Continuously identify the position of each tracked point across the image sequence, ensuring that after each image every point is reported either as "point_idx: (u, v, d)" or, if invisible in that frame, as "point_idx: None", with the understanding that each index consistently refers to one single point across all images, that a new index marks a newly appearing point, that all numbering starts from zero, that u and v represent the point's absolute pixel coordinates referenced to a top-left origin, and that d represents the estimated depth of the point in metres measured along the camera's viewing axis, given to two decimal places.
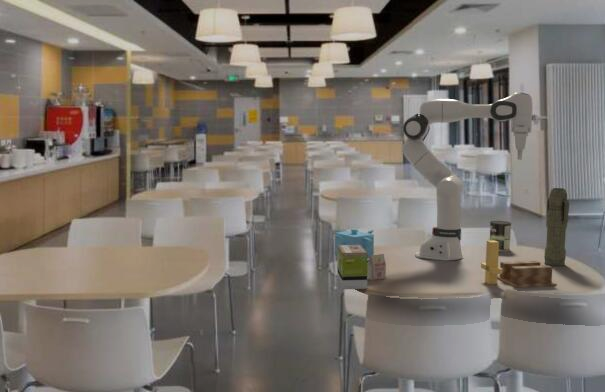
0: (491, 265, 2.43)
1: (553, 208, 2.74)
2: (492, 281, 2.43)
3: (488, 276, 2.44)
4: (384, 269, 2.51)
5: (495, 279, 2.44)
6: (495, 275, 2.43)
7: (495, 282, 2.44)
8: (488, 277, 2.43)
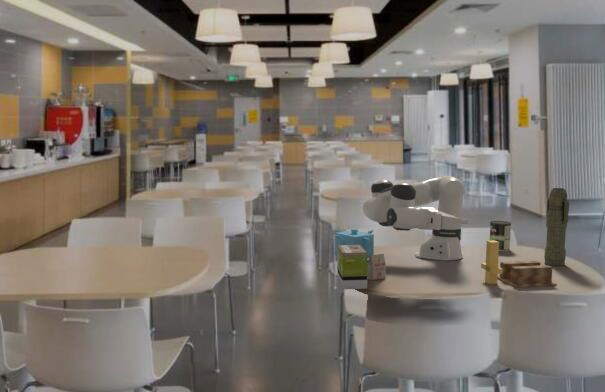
0: (491, 265, 2.43)
1: (553, 208, 2.74)
2: (492, 281, 2.43)
3: (488, 276, 2.44)
4: (384, 269, 2.51)
5: (495, 279, 2.44)
6: (495, 275, 2.43)
7: (495, 282, 2.44)
8: (488, 277, 2.43)
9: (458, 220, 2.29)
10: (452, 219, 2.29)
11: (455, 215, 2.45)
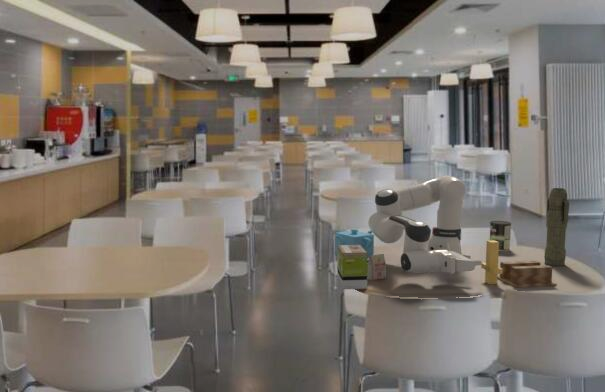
0: (491, 265, 2.43)
1: (553, 208, 2.74)
2: (492, 281, 2.43)
3: (488, 276, 2.44)
4: (384, 269, 2.51)
5: (495, 279, 2.44)
6: (495, 275, 2.43)
7: (495, 282, 2.44)
8: (488, 277, 2.43)
9: (472, 263, 2.31)
10: (466, 262, 2.31)
11: None
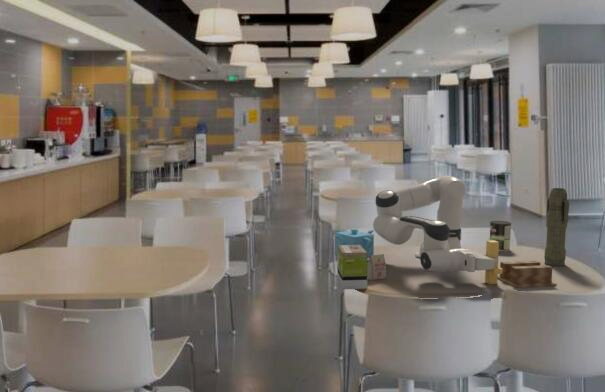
0: None
1: (553, 208, 2.74)
2: (492, 281, 2.43)
3: (488, 275, 2.44)
4: (384, 269, 2.51)
5: (495, 279, 2.44)
6: (495, 275, 2.43)
7: (495, 282, 2.44)
8: (488, 277, 2.43)
9: (492, 261, 2.33)
10: (486, 261, 2.33)
11: None
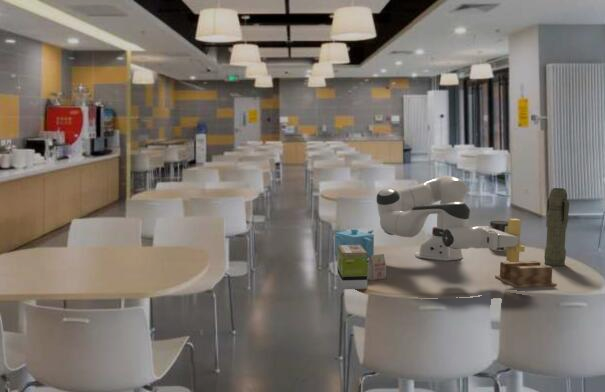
0: None
1: (553, 208, 2.74)
2: (514, 259, 2.43)
3: (510, 254, 2.43)
4: (384, 269, 2.51)
5: (517, 257, 2.43)
6: (517, 253, 2.43)
7: (517, 260, 2.44)
8: (510, 255, 2.43)
9: (514, 238, 2.33)
10: (509, 238, 2.33)
11: None
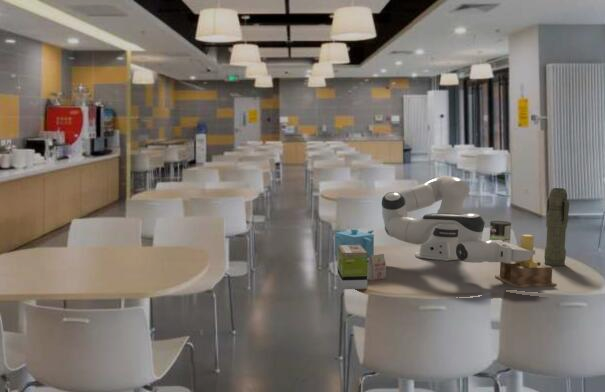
0: None
1: (553, 208, 2.74)
2: None
3: None
4: (384, 269, 2.51)
5: None
6: None
7: None
8: None
9: (528, 253, 2.36)
10: (522, 252, 2.35)
11: None
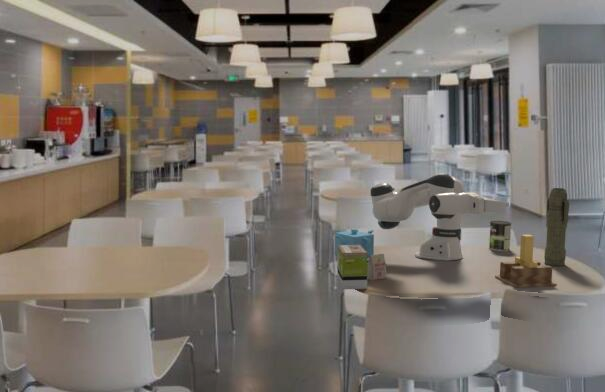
0: (526, 259, 2.45)
1: (553, 208, 2.74)
2: None
3: None
4: (384, 269, 2.51)
5: None
6: None
7: None
8: None
9: (500, 203, 2.35)
10: (495, 202, 2.35)
11: (494, 199, 2.51)
